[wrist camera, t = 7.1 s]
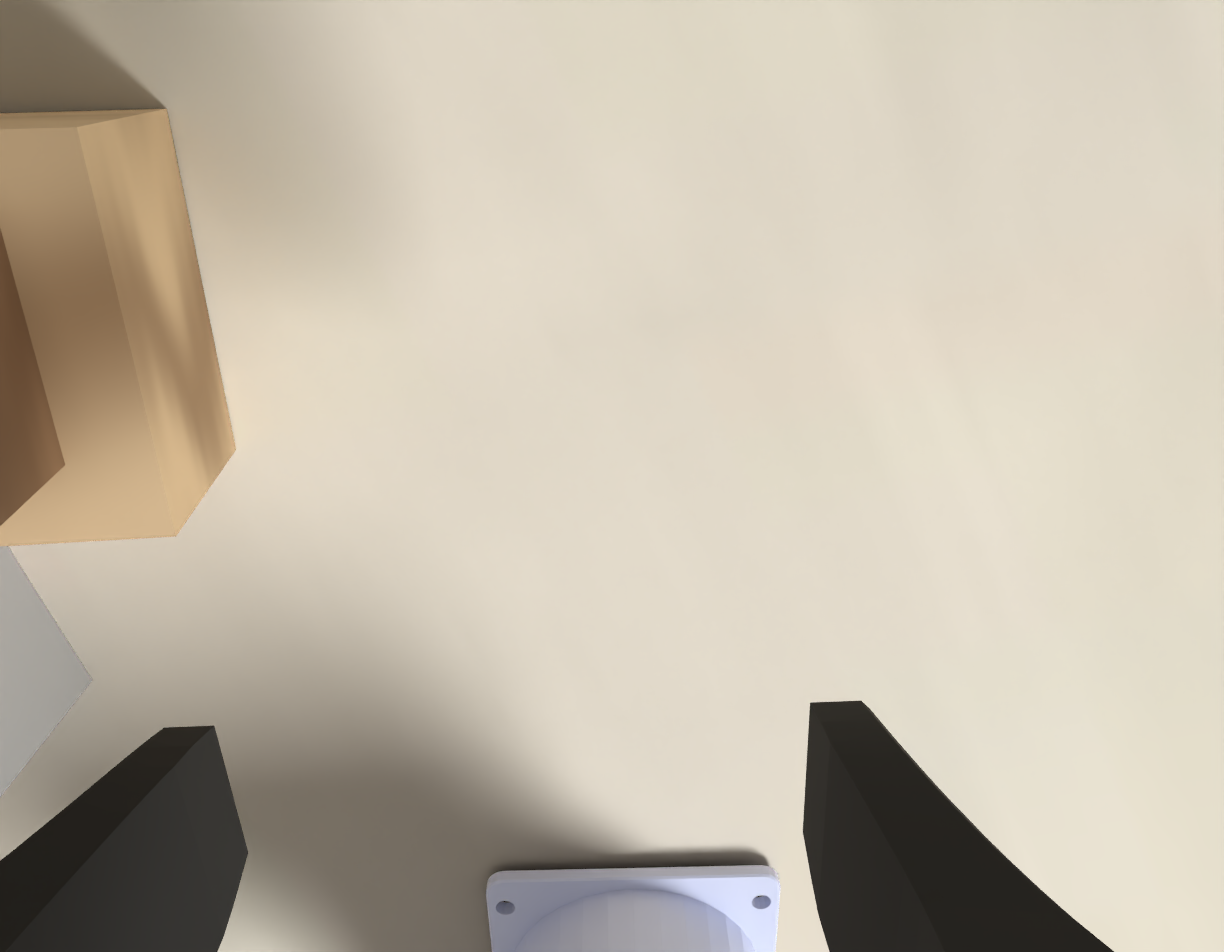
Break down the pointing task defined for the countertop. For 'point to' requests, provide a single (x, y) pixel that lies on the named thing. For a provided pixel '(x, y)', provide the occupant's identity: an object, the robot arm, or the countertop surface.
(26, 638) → the grey cube
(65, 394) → the oak slab
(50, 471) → the walnut cube
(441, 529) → the countertop surface
